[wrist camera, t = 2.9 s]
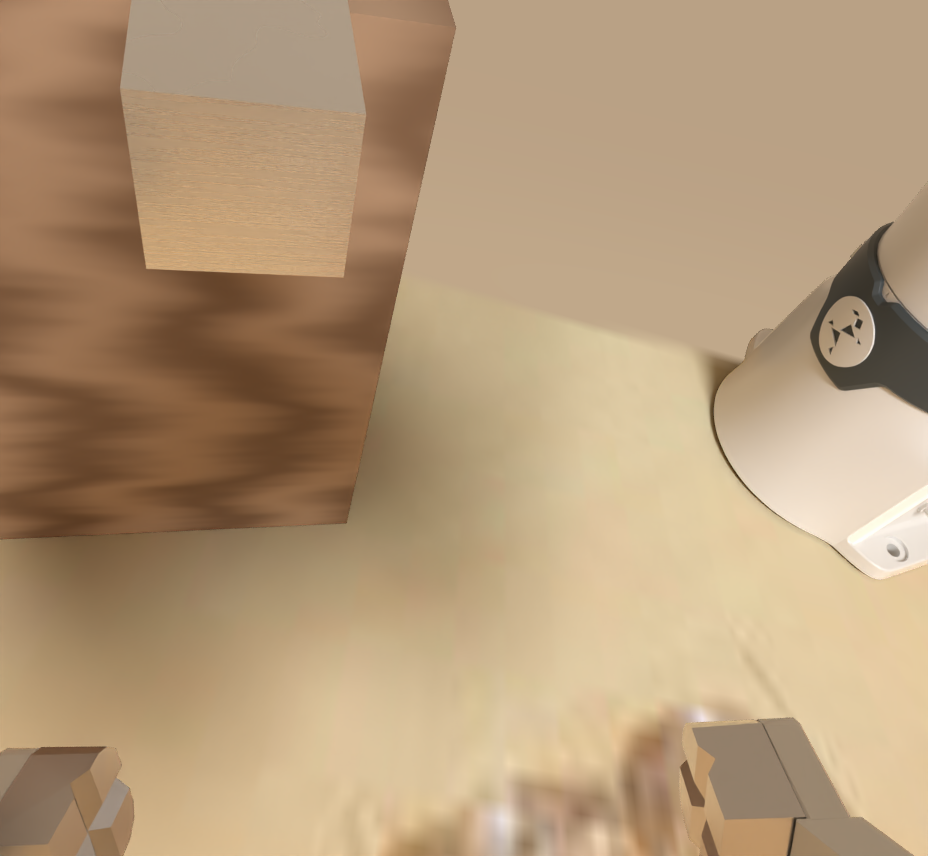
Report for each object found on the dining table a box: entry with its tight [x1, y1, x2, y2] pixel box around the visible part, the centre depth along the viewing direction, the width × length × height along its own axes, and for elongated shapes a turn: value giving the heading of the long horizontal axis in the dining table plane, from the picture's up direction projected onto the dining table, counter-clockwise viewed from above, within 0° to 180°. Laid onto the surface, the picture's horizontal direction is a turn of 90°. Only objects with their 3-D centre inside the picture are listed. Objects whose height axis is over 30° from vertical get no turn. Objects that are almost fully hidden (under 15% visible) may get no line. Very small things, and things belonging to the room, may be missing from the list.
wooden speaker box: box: [0, 0, 456, 539], centre depth 29 cm, size 26×14×26 cm, turn 100°
